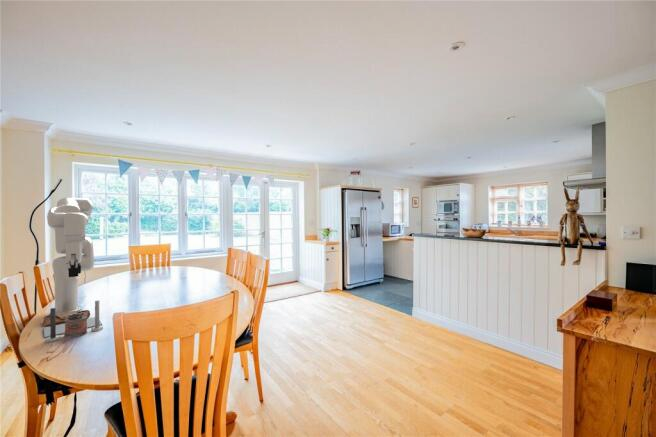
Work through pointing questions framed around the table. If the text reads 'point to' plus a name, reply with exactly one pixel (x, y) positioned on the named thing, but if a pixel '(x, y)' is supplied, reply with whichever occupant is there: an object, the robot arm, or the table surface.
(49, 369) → the table surface
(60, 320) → the sunglasses case
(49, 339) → the dark grey post
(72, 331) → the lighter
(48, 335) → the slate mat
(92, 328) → the grey post
